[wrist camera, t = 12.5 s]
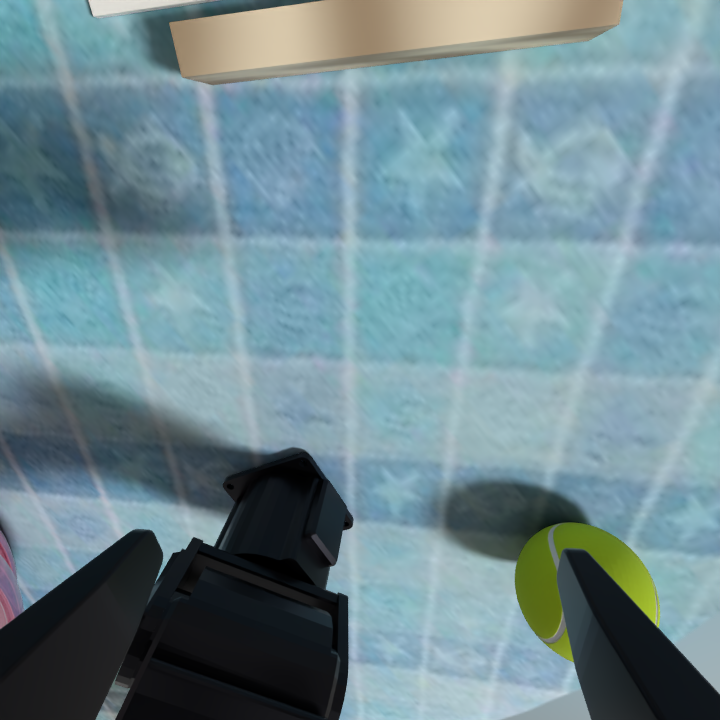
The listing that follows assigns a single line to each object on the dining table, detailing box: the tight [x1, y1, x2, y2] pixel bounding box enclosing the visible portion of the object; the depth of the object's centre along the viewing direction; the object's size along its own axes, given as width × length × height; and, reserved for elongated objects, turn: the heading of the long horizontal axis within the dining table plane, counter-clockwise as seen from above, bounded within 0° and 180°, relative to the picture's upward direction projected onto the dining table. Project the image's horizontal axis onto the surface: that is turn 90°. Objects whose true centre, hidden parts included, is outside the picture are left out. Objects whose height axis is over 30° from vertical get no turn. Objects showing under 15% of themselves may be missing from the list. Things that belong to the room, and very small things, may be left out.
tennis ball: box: [515, 522, 660, 662], centre depth 23 cm, size 7×7×7 cm
